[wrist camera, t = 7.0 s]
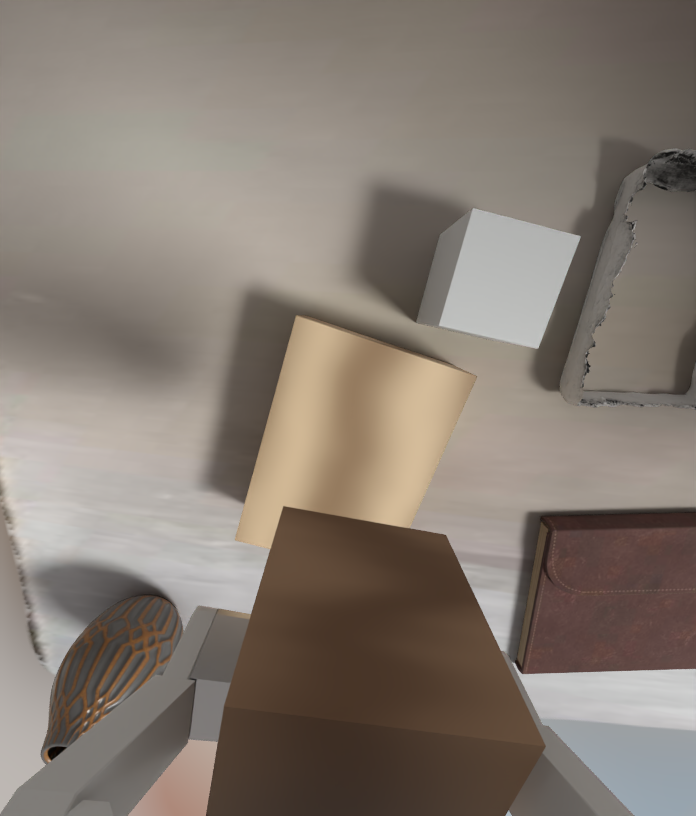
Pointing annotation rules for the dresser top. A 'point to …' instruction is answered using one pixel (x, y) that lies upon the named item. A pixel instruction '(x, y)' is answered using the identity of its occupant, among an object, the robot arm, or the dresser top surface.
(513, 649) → the dresser top surface
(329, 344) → the oak block
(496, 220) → the grey block
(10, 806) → the robot arm
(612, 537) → the notebook
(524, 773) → the walnut cube
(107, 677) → the vase
